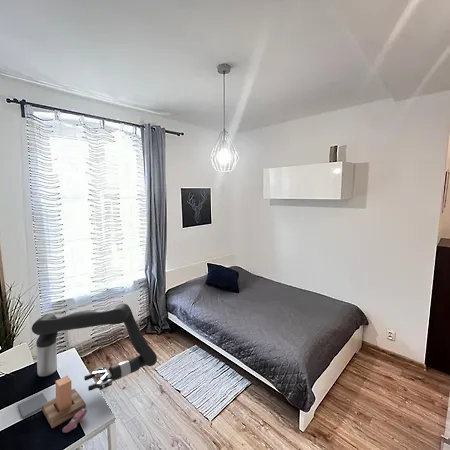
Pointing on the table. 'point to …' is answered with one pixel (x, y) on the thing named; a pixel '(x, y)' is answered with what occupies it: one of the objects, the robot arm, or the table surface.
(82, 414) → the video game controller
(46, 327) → the robot arm
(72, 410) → the walnut pocket block
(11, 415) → the table surface
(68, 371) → the table surface
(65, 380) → the terracotta block
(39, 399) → the slate pad
